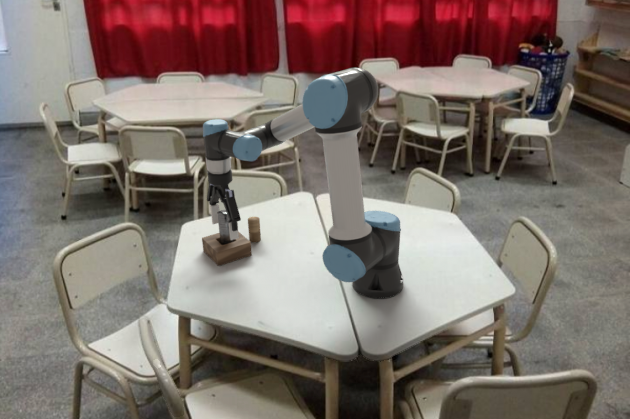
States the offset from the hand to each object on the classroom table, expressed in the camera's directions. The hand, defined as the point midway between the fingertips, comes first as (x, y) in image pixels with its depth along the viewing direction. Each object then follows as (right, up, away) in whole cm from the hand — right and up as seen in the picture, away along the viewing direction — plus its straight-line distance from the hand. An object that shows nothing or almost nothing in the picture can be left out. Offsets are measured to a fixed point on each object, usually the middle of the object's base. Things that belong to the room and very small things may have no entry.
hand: (225, 230), depth 179 cm
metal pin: (0, -7, +3) cm, 7 cm away
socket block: (0, -8, +4) cm, 8 cm away
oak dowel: (+8, -4, +12) cm, 15 cm away
